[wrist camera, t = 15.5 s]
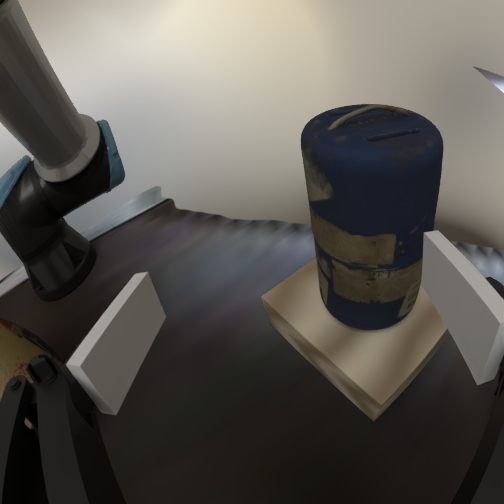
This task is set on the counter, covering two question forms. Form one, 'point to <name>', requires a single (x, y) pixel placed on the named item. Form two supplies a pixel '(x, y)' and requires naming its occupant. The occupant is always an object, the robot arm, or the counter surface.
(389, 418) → the counter surface
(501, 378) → the coffee mug
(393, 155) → the canister
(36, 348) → the ceramic jug
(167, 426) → the counter surface
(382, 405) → the dock
